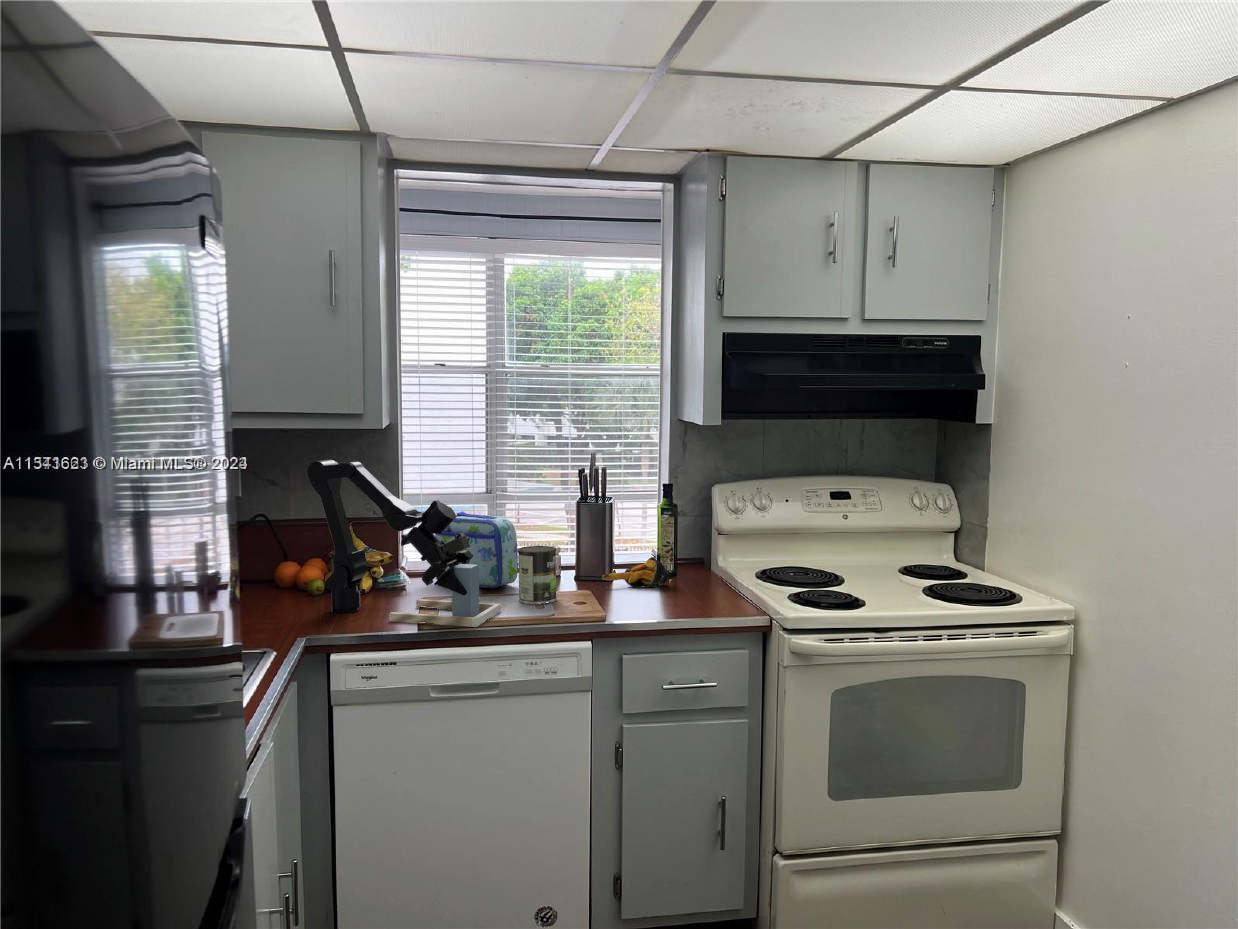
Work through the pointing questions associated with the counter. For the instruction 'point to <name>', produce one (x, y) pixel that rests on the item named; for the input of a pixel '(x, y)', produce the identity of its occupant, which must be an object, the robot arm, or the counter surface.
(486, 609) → the wooden picture frame
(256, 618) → the counter surface
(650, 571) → the yellow lumpy two-tone part
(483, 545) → the lunch box
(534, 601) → the coffee can
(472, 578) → the slate block
